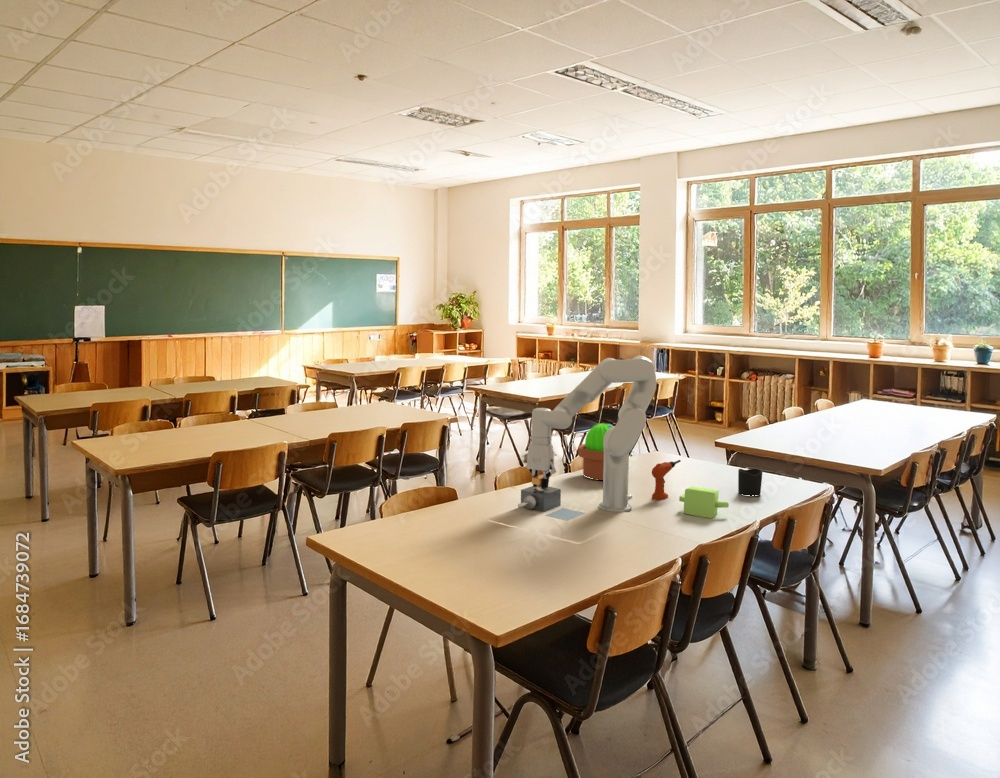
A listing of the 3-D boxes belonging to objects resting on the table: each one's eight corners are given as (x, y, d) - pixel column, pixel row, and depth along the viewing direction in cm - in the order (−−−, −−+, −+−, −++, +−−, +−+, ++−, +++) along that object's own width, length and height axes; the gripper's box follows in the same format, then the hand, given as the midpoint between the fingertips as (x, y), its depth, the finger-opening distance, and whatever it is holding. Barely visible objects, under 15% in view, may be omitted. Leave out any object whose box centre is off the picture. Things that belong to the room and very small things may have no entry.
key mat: (563, 509, 283) (563, 508, 283) (585, 514, 277) (585, 513, 276) (544, 516, 274) (544, 515, 274) (567, 521, 267) (567, 520, 267)
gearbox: (730, 515, 278) (732, 490, 277) (723, 521, 270) (725, 495, 269) (683, 507, 287) (685, 483, 286) (675, 512, 279) (677, 487, 278)
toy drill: (686, 489, 307) (684, 454, 304) (659, 503, 295) (657, 467, 292) (676, 486, 311) (674, 452, 308) (649, 500, 299) (647, 465, 296)
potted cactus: (570, 479, 330) (571, 423, 326) (588, 468, 349) (589, 416, 346) (617, 485, 319) (619, 428, 316) (633, 474, 339) (635, 420, 335)
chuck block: (537, 501, 294) (537, 484, 293) (560, 506, 287) (560, 488, 286) (507, 512, 279) (507, 494, 278) (531, 517, 272) (531, 499, 271)
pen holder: (756, 498, 299) (758, 474, 298) (734, 494, 305) (735, 471, 304) (764, 493, 307) (765, 470, 306) (741, 489, 312) (743, 466, 311)
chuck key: (541, 496, 289) (541, 474, 288) (548, 498, 287) (549, 476, 286) (531, 499, 284) (531, 477, 283) (539, 501, 282) (539, 479, 281)
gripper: (518, 438, 285) (517, 485, 287) (553, 444, 274) (552, 492, 277) (530, 436, 291) (529, 481, 293) (564, 441, 280) (563, 489, 283)
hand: (540, 486), depth 285 cm, fingers closed on chuck key, 3 cm apart
